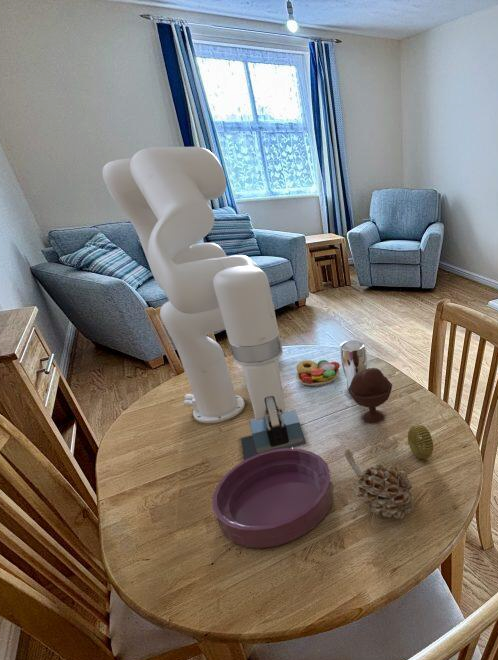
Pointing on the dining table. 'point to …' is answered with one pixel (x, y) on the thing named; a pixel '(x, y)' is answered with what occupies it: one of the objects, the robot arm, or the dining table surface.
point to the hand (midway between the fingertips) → (277, 434)
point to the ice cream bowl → (370, 392)
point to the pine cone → (383, 489)
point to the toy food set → (317, 372)
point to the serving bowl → (273, 497)
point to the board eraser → (262, 436)
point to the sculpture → (420, 441)
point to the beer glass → (353, 359)
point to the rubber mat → (251, 451)
